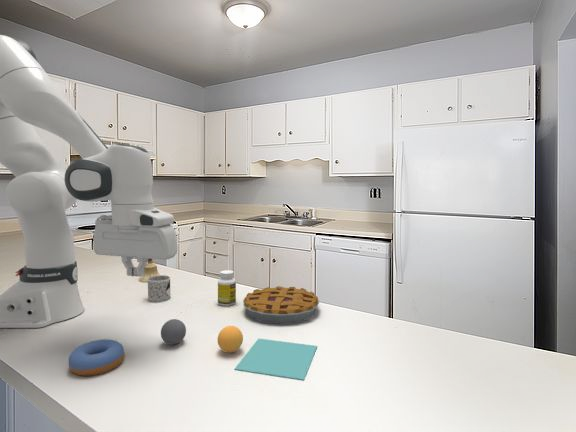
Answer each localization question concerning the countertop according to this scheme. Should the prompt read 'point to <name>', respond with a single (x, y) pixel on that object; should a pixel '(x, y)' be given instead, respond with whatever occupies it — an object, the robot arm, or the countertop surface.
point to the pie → (281, 304)
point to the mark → (278, 359)
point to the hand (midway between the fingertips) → (135, 275)
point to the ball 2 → (230, 339)
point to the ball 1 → (173, 331)
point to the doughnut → (96, 357)
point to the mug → (159, 288)
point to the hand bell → (149, 271)
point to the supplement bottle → (226, 288)
